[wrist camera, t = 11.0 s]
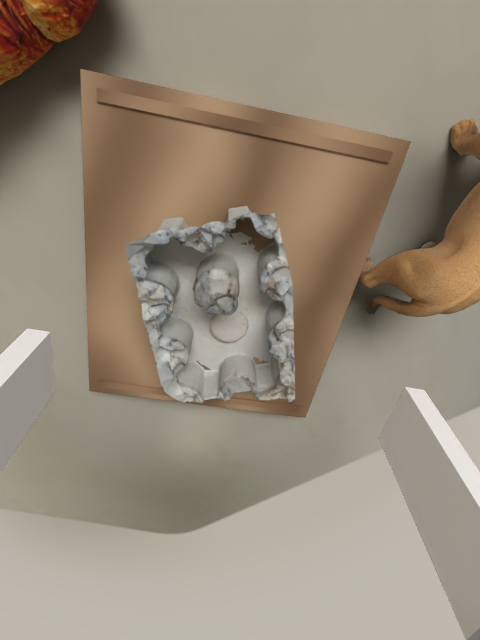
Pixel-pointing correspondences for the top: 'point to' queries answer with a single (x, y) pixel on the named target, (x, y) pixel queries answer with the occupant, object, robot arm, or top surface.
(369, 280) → the lion figurine
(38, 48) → the croissant
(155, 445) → the top surface
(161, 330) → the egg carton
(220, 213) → the walnut board
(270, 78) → the top surface
